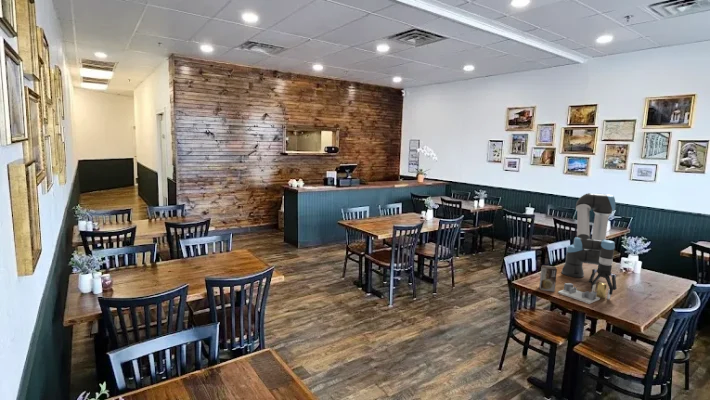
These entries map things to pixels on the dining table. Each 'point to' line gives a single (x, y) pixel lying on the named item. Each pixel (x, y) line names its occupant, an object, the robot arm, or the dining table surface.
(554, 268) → the coffee box
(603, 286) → the coupler
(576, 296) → the shaft bench
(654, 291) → the dining table surface
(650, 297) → the dining table surface
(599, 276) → the robot arm
